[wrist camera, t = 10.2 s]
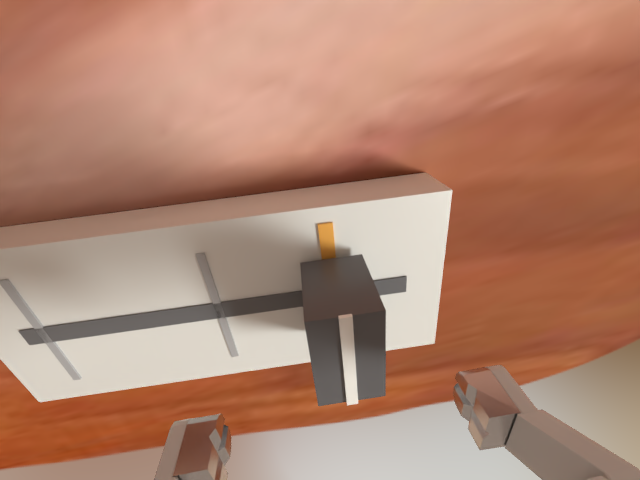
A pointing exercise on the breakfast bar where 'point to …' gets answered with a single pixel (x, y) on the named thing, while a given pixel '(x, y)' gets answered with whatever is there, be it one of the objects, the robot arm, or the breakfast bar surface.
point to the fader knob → (344, 329)
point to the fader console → (209, 283)
